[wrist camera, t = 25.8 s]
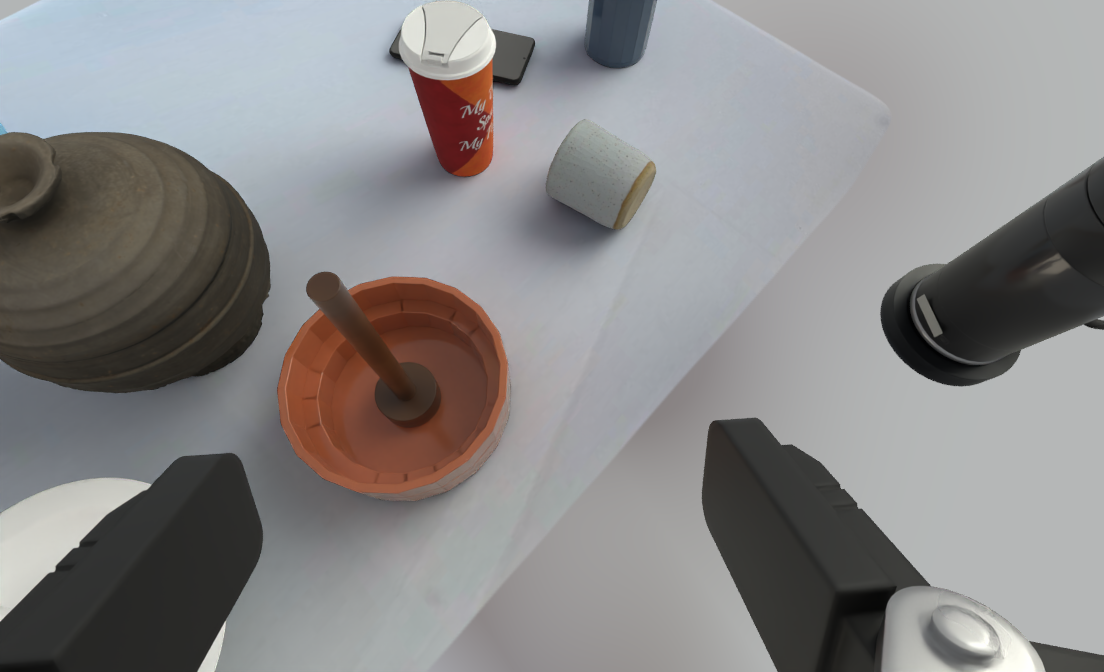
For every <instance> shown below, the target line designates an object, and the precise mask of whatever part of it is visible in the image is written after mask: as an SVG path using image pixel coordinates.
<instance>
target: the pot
mask: <svg viewBox="0 0 1104 672" xmlns="http://www.w3.org/2000/svg"><path fill="white" fill-rule="evenodd" d="M269 290H270V261H269V252H268V249H267V245H266V243H265V241H264V238H263V234H262V231H261V229H260V226H259V224H258V222H257V220H256V218H255V216H254V215H253V213H252V212H251V210H250V209H249V208H248V206H247V205H246V204H245V202H244V200H243V199H242V198H241V196H240V195H239V193H238V192H237V191H236V190H235V189H234V188H233V187H232V186H231V185H230V184H229V183H228V182H227V181H226V180H224V179H223V178H222V177H220V176H219V175H217V174H215V173H214V172H212V171H210V170H209V169H207V168H206V167H205V166H204V165H203V164H202V163H200V162H199V161H198V160H196V159H195V158H193V157H192V156H190V155H188V154H187V153H185V152H183V151H181V150H179V149H177V148H175V147H173V146H170V145H168V144H165V143H163V142H159V141H156V140H152V139H149V138H146V137H142V136H137V135H132V134H125V133H112V132H83V133H71V134H63V135H58V136H54V137H50V138H46V139H42V138H40V137H38V136H35V135H32V134H28V133H18V132H11V133H6V134H3V135H0V359H1V360H2V361H3V362H5V363H6V364H7V365H9V366H10V367H12V368H14V369H16V370H17V371H19V372H22V373H23V374H26V375H28V376H31V377H34V378H37V379H41V380H46V381H50V382H53V383H55V384H58V385H60V386H63V387H69V388H72V389H77V390H83V391H94V392H111V393H127V392H135V391H142V390H154V389H158V388H160V387H164V386H166V385H167V384H170V383H173V382H176V381H179V380H182V379H184V378H189V377H192V376H195V377H196V376H202V375H205V374H208V373H210V372H214V371H216V370H218V369H220V368H222V367H224V366H226V365H227V364H228V363H231V362H233V361H234V360H235V359H236V358H238V357H239V356H241V355H242V354H243V353H244V351H245V350H246V349H247V348H248V347H249V346H250V345H251V343H252V342H253V341H254V339H255V337H256V336H257V335H258V331H259V330H260V327H261V325H262V322H261V320H262V316H263V310H262V304H263V302H264V301H265V299H266V298H268V297H269V295H268V292H269Z"/></svg>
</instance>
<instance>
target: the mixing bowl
mask: <svg viewBox="0 0 1104 672" xmlns="http://www.w3.org/2000/svg"><path fill="white" fill-rule="evenodd" d="M348 291H349V293H350V294H351V296H352V297H353V298H354V300H355V301H356V303H357V304H358V306H359V307H360V308H361V310H362V311H363V313H364V314H365V316H366V317H367V318H368V320H369V321H370V323H371V324H372V325H373V327H374V328H375V330H376V331H377V333H378V334H379V335H380V337H381V338H382V340H383V341H384V343H385V344H386V345H387V347H388V348H389V350H390V351H391V352H392V354H393V355H394V357H395V358H396V360H397V361H398V362H399V363H404V362H413V363H418V364H420V365H422V366H424V367H426V368H427V369H428V370H429V371H430V372H431V373H432V375H433V376H434V378H435V380H436V381H437V383H438V385H439V387H440V391H441V403H440V406H439V409H438V411H437V413H436V414H435V415H434V416H433V418H432V419H430V420H429V421H428V422H426V423H425V424H423V425H421V426H417V427H412V428H406V427H401V426H398V425H396V424H394V423H393V422H391V421H390V420H389V419H388V418H387V417H386V416H385V415H384V414H383V413H382V412H381V411H380V410H379V408H378V407H377V404H376V402H375V387H376V384H377V382H378V380H379V378H380V377H379V376H378V375H377V374H376V373H375V372H374V370H373V369H372V368H371V367H370V366H369V365H368V364H367V362H366V361H365V360H364V359H363V358H362V357H361V356H360V354H359V353H358V352H357V351H356V350H355V349H354V348H353V346H352V345H351V344H350V343H349V342H348V341H347V340H346V338H345V337H344V336H343V335H342V334H341V333H340V332H339V330H338V329H337V328H336V327H335V326H334V325H333V324H332V322H331V321H330V320H329V319H328V318H327V317H326V316H325V314H324V313H323V312H322V311H321V310H320V309H319V310H318V311H317V312H316V313H315V314H314V315H313V316H312V317H311V318H310V319H309V320H308V321H306V322H305V323H304V324H303V325H302V327H301V329H300V330H299V332H298V334H297V336H296V337H295V339H294V341H293V342H292V344H291V346H290V347H289V349H288V351H287V352H286V354H285V357H284V362H283V366H282V370H281V374H280V379H279V383H278V387H277V389H278V390H277V393H278V403H279V412H280V421H281V426H282V428H283V429H284V431H285V433H286V435H287V437H288V439H289V441H290V443H291V445H292V447H293V449H294V451H295V453H296V455H297V456H298V457H299V458H300V459H301V460H303V461H304V462H305V463H306V464H307V465H308V466H309V467H310V468H311V469H313V470H314V471H315V472H316V473H317V474H318V475H319V476H320V477H322V478H323V479H324V480H327V481H330V482H332V483H335V484H337V485H340V486H343V487H345V488H348V489H350V490H353V491H356V492H358V493H361V494H364V495H367V496H370V497H373V498H376V499H379V500H395V501H417V500H420V499H424V498H427V497H431V496H434V495H437V494H441V493H444V492H447V491H449V490H451V489H452V488H454V487H455V486H457V485H458V484H460V483H461V482H463V481H464V480H466V479H467V478H469V477H470V476H472V475H473V474H474V473H476V472H477V471H478V470H479V468H480V467H481V466H482V465H483V463H484V462H485V461H486V460H487V459H488V457H489V456H490V455H491V454H492V452H493V451H494V450H495V449H496V447H497V446H498V444H499V441H500V439H501V436H502V433H503V431H504V428H505V426H506V423H507V421H508V418H509V411H510V394H511V384H510V376H509V367H508V361H507V358H506V354H505V350H504V347H503V343H502V340H501V336H500V333H499V331H498V330H497V328H496V327H495V325H494V324H493V323H492V321H491V320H490V318H489V317H488V315H487V314H486V313H485V311H484V310H483V308H482V307H481V306H480V305H478V304H477V303H476V302H474V301H473V300H471V299H470V298H469V297H467V296H466V295H465V294H463V293H462V292H461V291H459V290H458V289H456V288H454V287H451V286H448V285H445V284H442V283H439V282H436V281H433V280H430V279H427V278H417V277H388V278H384V279H379V280H375V281H371V282H366V283H362V284H360V285H357V286H355V287H353V288H351V289H349V290H348Z"/></svg>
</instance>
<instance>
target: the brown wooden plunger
mask: <svg viewBox="0 0 1104 672" xmlns="http://www.w3.org/2000/svg"><path fill="white" fill-rule="evenodd" d="M306 291H307V294H308V296H309V297H310V299H311V300H312V301H313V302H314V303H315V304H316V305H317V307H318V308H319V309H320V310H321V311H322V312H323V313H324V314H325V316H326V317H327V318H328V319H329V320H330V321H331V322H332V324H333V325H334V326H335V327H336V328H337V329H338V330H339V332H340V333H341V334H342V335H343V336H344V337H345V338H346V340H347V341H348V342H349V343H350V344H351V345H352V346H353V348H354V349H355V350H356V351H357V352H358V353H359V354H360V356H361V357H362V358H363V359H364V360H365V361H366V362H367V364H368V365H369V366H370V367H371V368H372V369H373V370H374V372H375V373H376V374H377V375H378V376H379V377H380V378H379V380H378V382H377V384H376V387H375V402H376V404H377V407H378V408H379V410H380V411H381V412H382V413H383V414H384V415H385V416H386V417H387V418H388V419H389V420H390V421H391V422H393V423H394V424H396V425H398V426H401V427H406V428H412V427H417V426H421V425H423V424H425V423H426V422H428V421H429V420H430V419H432V418H433V416H434V415H435V414H436V413H437V411H438V409H439V406H440V403H441V391H440V387H439V385H438V383H437V381H436V380H435V378H434V376H433V375H432V373H431V372H430V371H429V370H428V369H427V368H426V367H424V366H422V365H420V364H418V363H413V362H404V363H399V362H398V361H397V360H396V358H395V357H394V355H393V354H392V352H391V351H390V350H389V348H388V347H387V345H386V344H385V343H384V341H383V340H382V338H381V337H380V335H379V334H378V333H377V331H376V330H375V328H374V327H373V325H372V324H371V323H370V321H369V320H368V318H367V317H366V316H365V314H364V313H363V311H362V310H361V308H360V307H359V306H358V304H357V303H356V301H355V300H354V298H353V297H352V296H351V294H350V293H349V291H348V290H347V289H346V287H345V286H344V284H343V283H342V281H341V280H340V279H339V277H338V276H337V275H335V274H334V273H331V272H321V273H318V274H316V275H314V276H313V277H312V278H311V279H310V280H309V281H308V283H307V287H306Z"/></svg>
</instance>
